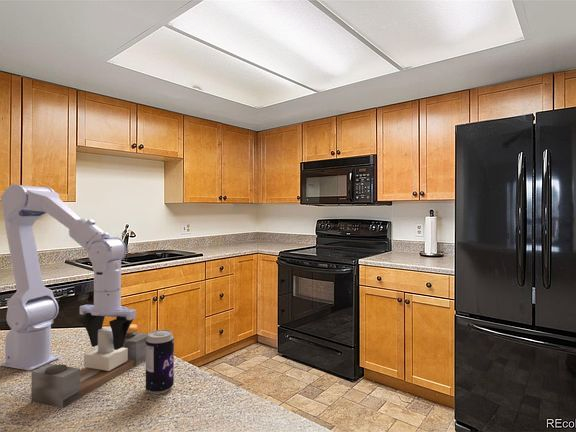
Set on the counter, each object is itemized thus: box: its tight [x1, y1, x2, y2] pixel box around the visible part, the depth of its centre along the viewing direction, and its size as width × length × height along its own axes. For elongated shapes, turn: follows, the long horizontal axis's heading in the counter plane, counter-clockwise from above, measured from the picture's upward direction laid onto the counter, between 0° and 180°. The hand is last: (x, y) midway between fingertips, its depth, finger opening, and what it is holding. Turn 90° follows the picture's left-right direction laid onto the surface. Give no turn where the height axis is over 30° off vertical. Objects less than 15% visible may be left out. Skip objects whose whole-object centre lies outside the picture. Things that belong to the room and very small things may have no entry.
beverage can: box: [145, 329, 175, 395], centre depth 77 cm, size 6×6×12 cm
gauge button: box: [126, 323, 138, 338], centre depth 93 cm, size 4×4×3 cm
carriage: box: [83, 326, 128, 371], centre depth 85 cm, size 7×6×8 cm
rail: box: [30, 331, 149, 409], centre depth 83 cm, size 9×26×6 cm, turn 164°
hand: (107, 346), depth 86 cm, fingers open, 6 cm apart
